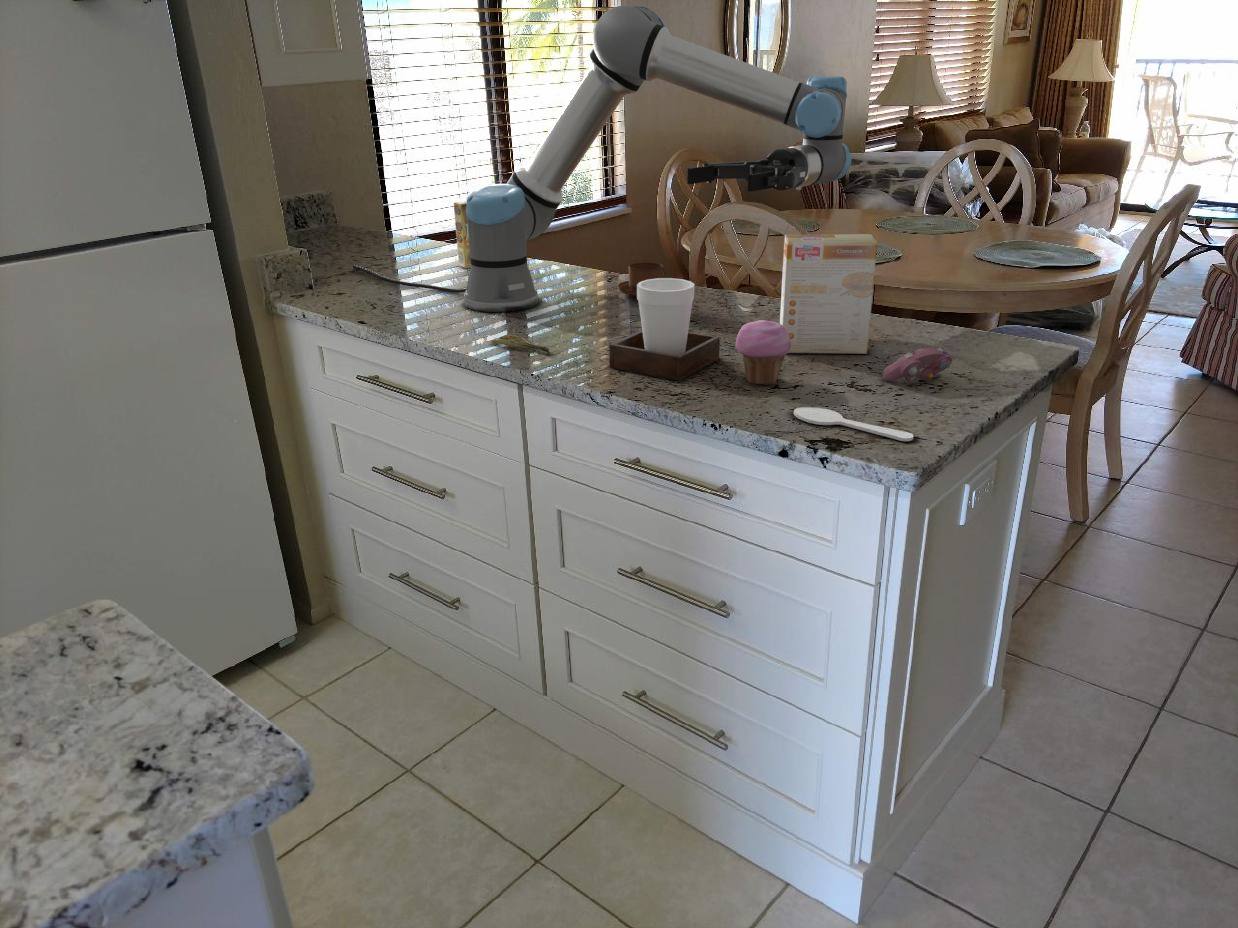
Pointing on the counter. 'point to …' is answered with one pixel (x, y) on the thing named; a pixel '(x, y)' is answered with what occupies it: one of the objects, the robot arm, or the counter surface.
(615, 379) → the counter surface
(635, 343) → the wooden tray
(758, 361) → the cupcake
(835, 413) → the spoon
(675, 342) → the foam cup
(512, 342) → the olive green tapered piece
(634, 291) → the cup and saucer
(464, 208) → the candy box
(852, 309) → the coffeecake box
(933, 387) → the counter surface
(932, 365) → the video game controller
